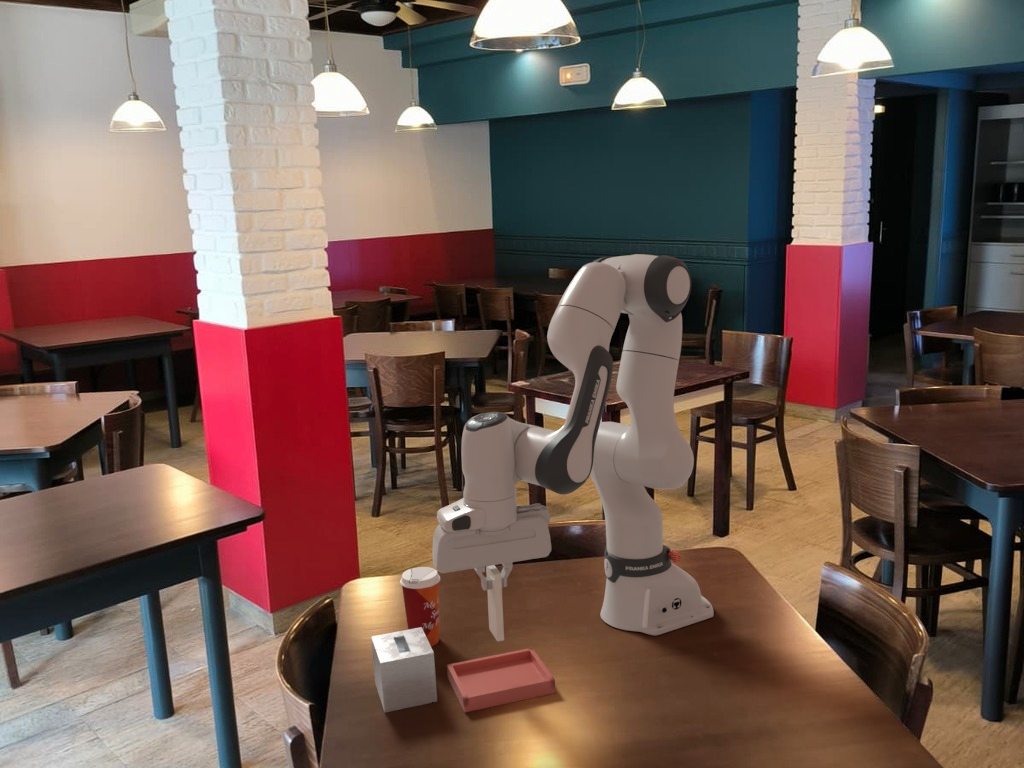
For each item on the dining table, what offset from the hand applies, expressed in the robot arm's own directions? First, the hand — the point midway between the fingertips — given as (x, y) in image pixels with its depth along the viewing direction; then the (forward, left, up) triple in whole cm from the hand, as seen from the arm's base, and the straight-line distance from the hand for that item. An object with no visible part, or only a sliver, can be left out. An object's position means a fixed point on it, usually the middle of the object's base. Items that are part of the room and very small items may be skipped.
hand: (494, 587), depth 151 cm
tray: (0, 0, -18) cm, 18 cm away
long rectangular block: (0, 0, -9) cm, 9 cm away
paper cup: (+9, -21, -18) cm, 29 cm away
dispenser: (+16, -4, -18) cm, 24 cm away
